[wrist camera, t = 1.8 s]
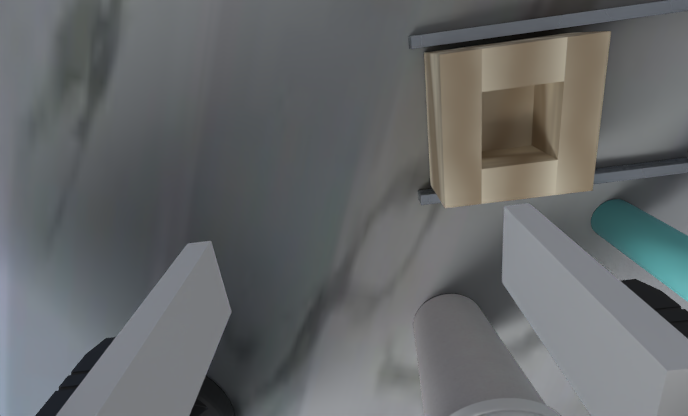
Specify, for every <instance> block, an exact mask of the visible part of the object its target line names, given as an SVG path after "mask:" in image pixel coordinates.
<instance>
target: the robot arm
mask: <svg viewBox="0 0 688 416" xmlns="http://www.w3.org/2000/svg"><path fill="white" fill-rule="evenodd" d="M502 283H503V285H504V286H505V288H506V289H507V291H508V292H509V294H510V295H511V297H512V298H513V300H514V301H515V303H516V304H517V306H518V307H519V309H520V310H521V312H522V313H523V315H524V316H525V318H526V319H527V321H528V322H529V324H530V325H531V327H532V328H533V330H534V331H535V333H536V334H537V336H538V337H539V339H540V340H541V342H542V343H543V345H544V346H545V348H546V349H547V351H548V352H549V353H550V355H551V356H552V358H553V359H554V361H555V362H556V364H557V365H558V367H559V368H560V370H561V371H562V373H563V374H564V376H565V377H566V379H567V380H568V382H569V383H570V385H571V386H572V388H573V389H574V391H575V392H576V394H577V395H578V397H579V398H580V400H581V401H582V403H583V404H584V406H585V407H586V409H587V410H588V412H589V413H590V415H591V416H688V311H686V310H685V309H681V306H680V305H679V304H677V303H676V302H675V301H674V300H672V299H671V298H670V297H668V296H667V295H666V294H665V293H663V292H662V291H660V290H658V289H656V288H654V287H652V286H650V285H647V284H645V283H643V282H641V281H639V280H637V279H632V280H623V281H620V280H619V279H618V278H616V277H615V276H614V275H613V274H612V273H611V272H609V271H608V270H607V269H606V268H605V267H604V266H602V265H601V264H600V263H599V262H598V261H597V260H595V259H594V258H593V257H592V256H591V255H589V254H588V253H587V252H586V251H585V250H584V249H582V248H581V247H580V246H579V245H578V244H577V243H575V242H574V241H573V240H572V239H571V238H570V237H568V236H567V235H566V234H565V233H564V232H563V231H561V230H560V229H559V228H558V227H557V226H556V225H554V224H553V223H552V222H551V221H550V220H549V219H547V218H546V217H545V216H544V215H543V214H542V213H540V212H539V211H538V210H537V209H536V208H535V207H533V206H532V205H531V204H530V203H524V204H516V205H508V206H504V221H503V257H502ZM230 315H231V308H230V305H229V301H228V298H227V294H226V291H225V287H224V284H223V280H222V277H221V273H220V270H219V266H218V263H217V259H216V256H215V252H214V249H213V245H212V242H211V241H204V242H196V243H188V244H187V245H186V246H185V247H184V249H183V250H182V251H181V253H180V254H179V255H178V257H177V258H176V259H175V261H174V262H173V263H172V264H171V266H170V267H169V268H168V270H167V271H166V272H165V274H164V275H163V276H162V278H161V279H160V280H159V281H158V283H157V284H156V285H155V287H154V288H153V289H152V291H151V292H150V293H149V294H148V296H147V297H146V298H145V300H144V301H143V302H142V304H141V305H140V306H139V308H138V309H137V310H136V311H135V313H134V314H133V315H132V317H131V318H130V319H129V321H128V322H127V323H126V325H125V326H124V327H123V328H122V330H121V331H120V332H119V334H118V335H117V336H116V337H114V338H106V339H105V340H103V341H102V342H101V343H100V344H98V345H97V346H96V347H94V348H93V349H92V350H91V351H89V352H88V353H87V354H86V355H85V356H84V357H83V358H82V359H81V361H80V362H79V363H78V364H77V366H76V367H75V368H74V369H73V370H72V372H71V375H70V376H68V377H67V378H66V379H65V380H64V381H63V383H62V384H61V385H60V386H59V390H58V391H55V392H54V394H53V395H52V396H51V397H50V399H49V400H48V401H47V402H46V403H45V405H44V406H43V407H42V408H41V409H40V411H39V412H38V413H37V414H36V416H235V414H234V410H233V407H232V405H231V403H230V401H229V399H228V398H227V396H226V395H225V393H224V392H223V391H222V390H221V389H220V388H219V387H218V386H217V385H216V384H215V383H214V382H212V381H211V380H210V379H208V378H207V377H205V376H206V374H207V371H208V369H209V366H210V364H211V361H212V359H213V356H214V354H215V352H216V349H217V347H218V344H219V342H220V339H221V337H222V334H223V332H224V329H225V327H226V325H227V322H228V320H229V317H230Z"/></svg>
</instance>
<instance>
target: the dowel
mask: <svg viewBox="0 0 688 416" xmlns="http://www.w3.org/2000/svg"><path fill="white" fill-rule="evenodd" d="M591 226H592V229H593V230H594V231H595V232H596V233H597V234H598V235H600V236H601V237H602V238H604V239H605V240H606V241H608V242H609V243H610V244H612V245H613V246H614V247H616V248H617V249H618V250H620V251H621V252H622V253H624V254H625V255H626V256H628V257H629V258H630V259H632V260H633V261H634V262H636V263H637V264H638V265H640V266H641V267H642V268H644V269H645V270H646V271H648V272H649V273H650V274H652V275H653V276H654V277H656V278H657V279H658V280H660V281H661V282H662V283H664V284H665V285H666V286H668V287H669V288H670V289H672V290H673V291H674V292H676V293H677V294H678V295H680V296H681V297H682V298H684V299H685V300H686V301H688V236H687V235H685V234H683V233H682V232H680V231H678V230H676V229H674V228H673V227H671V226H669V225H667V224H666V223H664V222H662V221H660V220H658V219H657V218H655V217H653V216H651V215H649V214H648V213H646V212H644V211H642V210H641V209H639V208H637V207H635V206H633V205H632V204H630V203H628V202H626V201H624V200H621V199H613V200H609V201H607V202H605V203H603V204H601V205H600V206H599V207H598V208H597V209H596V210H595V212H594V213H593V215H592V218H591Z"/></svg>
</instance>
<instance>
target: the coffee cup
mask: <svg viewBox="0 0 688 416" xmlns="http://www.w3.org/2000/svg"><path fill="white" fill-rule="evenodd" d="M413 328H414V336H415V344H416V352H417V360H418V368H419V376H420V384H421V392H422V401H423V409H424V416H561V415H560V414H559V413H558V412H557V411H555V410H554V409H552V408H550V407H548V406H547V405H546V404H545V403H544V401H543V400H542V398H541V397H540V395H539V394H538V393H537V391H536V390H535V388H534V387H533V385H532V384H531V382H530V381H529V380H528V378H527V377H526V375H525V374H524V372H523V371H522V369H521V368H520V366H519V365H518V364H517V362H516V361H515V359H514V358H513V356H512V355H511V353H510V352H509V350H508V349H507V347H506V346H505V344H504V343H503V342H502V340H501V339H500V337H499V336H498V334H497V333H496V331H495V330H494V328H493V327H492V325H491V324H490V322H489V321H488V320H487V318H486V317H485V315H484V314H483V312H482V311H481V309H480V308H479V306H478V305H477V304H476V303H475V302H474V301H473V300H471V299H470V298H468V297H466V296H463V295H459V294H444V295H440V296H437V297H434V298H432V299H430V300H428V301H427V302H426V303H424V304H423V305H422V306H421V307H420V308H419V310H418V311H417V313H416V315H415V317H414V322H413Z"/></svg>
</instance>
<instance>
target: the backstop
mask: <svg viewBox="0 0 688 416" xmlns="http://www.w3.org/2000/svg"><path fill="white" fill-rule="evenodd" d="M681 11H688V0H665V1H658V2H651V3H644V4H636V5H629V6H622V7H615V8H608V9H601V10H594V11H586V12H579V13H572V14H565V15H558V16H551V17H544V18H536V19H529V20H522V21H515V22H508V23H501V24H493V25H486V26H479V27H472V28H465V29H458V30H451V31H443V32H436V33H429V34H422V35H415V36H409V49H414V48H421V47H429V46H436V45H443V44H450V43H458V42H465V41H472V40H479V39H486V38H494V37H501V36H508V35H515V34H523V33H530V32H537V31H544V30H551V29H559V28H566V27H573V26H580V25H588V24H595V23H602V22H609V21H616V20H624V19H631V18H638V17H645V16H653V15H660V14H667V13H674V12H681ZM681 173H688V158H687V157H686V158H678V159H670V160H662V161H654V162H645V163H637V164H629V165H621V166H613V167H605V168H596V169H595V174H594V182H593V184H599V183H607V182H615V181H624V180H632V179H640V178H648V177H657V176H665V175H673V174H681ZM418 198H419V201H420V203H421V205H425V204H434V203H442V202H441V201H440V199H439V198H438V196H437V194H436V193H435V191H434V190H433V189H425V190H418Z"/></svg>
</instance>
